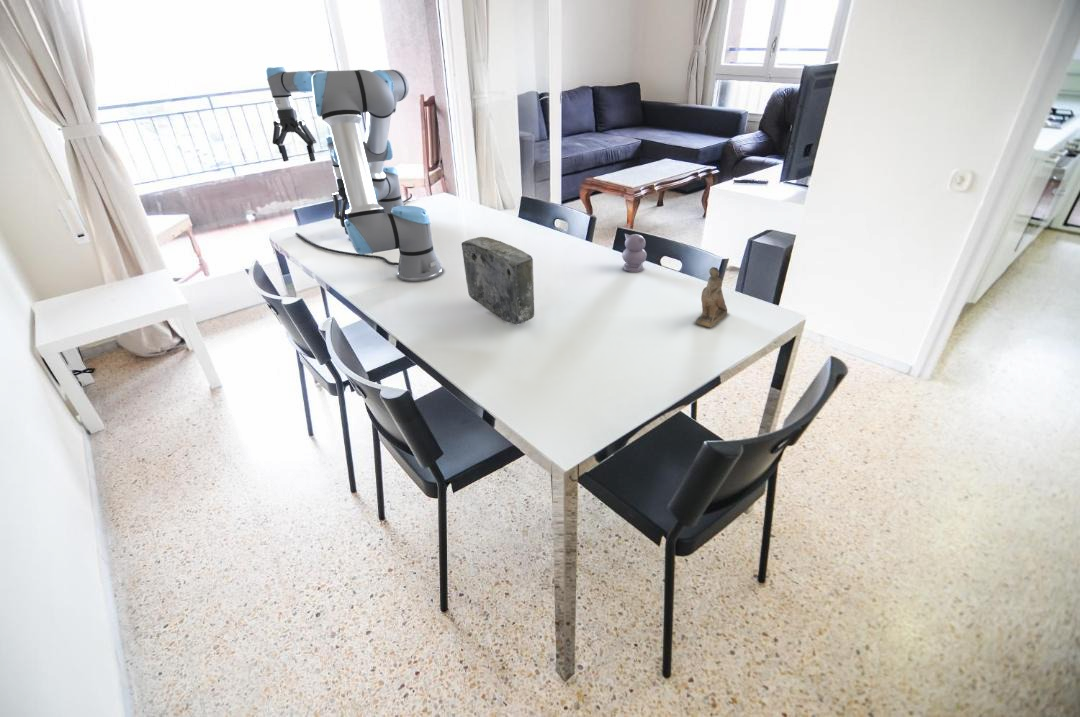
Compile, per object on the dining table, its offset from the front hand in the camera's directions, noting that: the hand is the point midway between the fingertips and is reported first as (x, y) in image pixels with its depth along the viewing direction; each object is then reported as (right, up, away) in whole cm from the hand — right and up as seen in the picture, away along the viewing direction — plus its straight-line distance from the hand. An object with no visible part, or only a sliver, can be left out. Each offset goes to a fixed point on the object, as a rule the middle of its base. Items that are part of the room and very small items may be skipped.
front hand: (357, 231), depth 213 cm
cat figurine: (+111, -23, -40) cm, 120 cm away
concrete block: (+67, -41, -67) cm, 103 cm away
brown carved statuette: (+127, -43, -73) cm, 152 cm away
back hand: (-30, +35, +11) cm, 47 cm away
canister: (0, -2, +1) cm, 3 cm away
